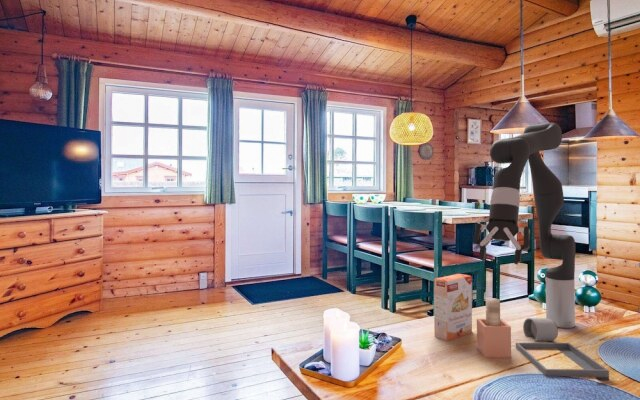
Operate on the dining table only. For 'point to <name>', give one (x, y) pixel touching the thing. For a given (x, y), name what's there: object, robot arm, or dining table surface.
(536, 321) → the ceramic mug
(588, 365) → the rectangular frame
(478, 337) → the pink square planter
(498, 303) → the dowel
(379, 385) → the dining table surface
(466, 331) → the cracker box
